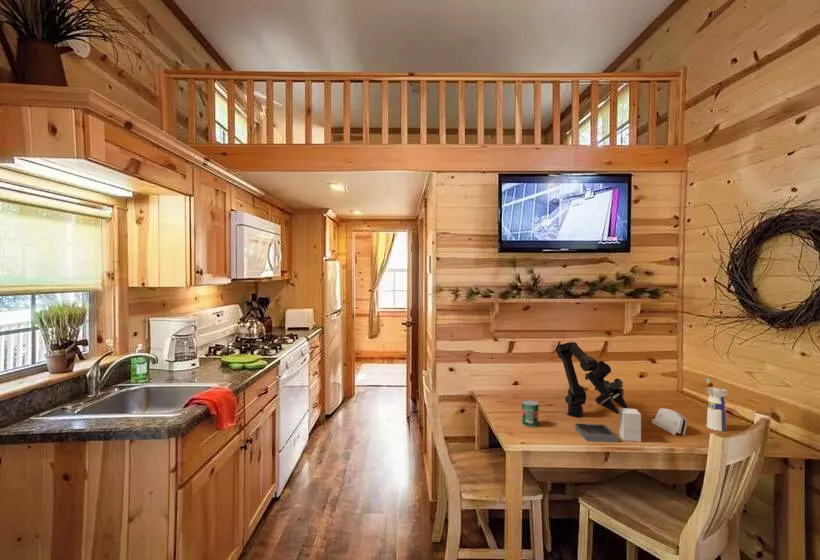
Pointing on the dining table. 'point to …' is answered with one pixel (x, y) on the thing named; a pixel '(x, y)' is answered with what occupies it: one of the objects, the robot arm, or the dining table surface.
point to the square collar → (596, 432)
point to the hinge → (670, 421)
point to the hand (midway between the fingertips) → (623, 411)
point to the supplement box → (630, 424)
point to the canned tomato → (530, 413)
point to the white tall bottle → (716, 408)
